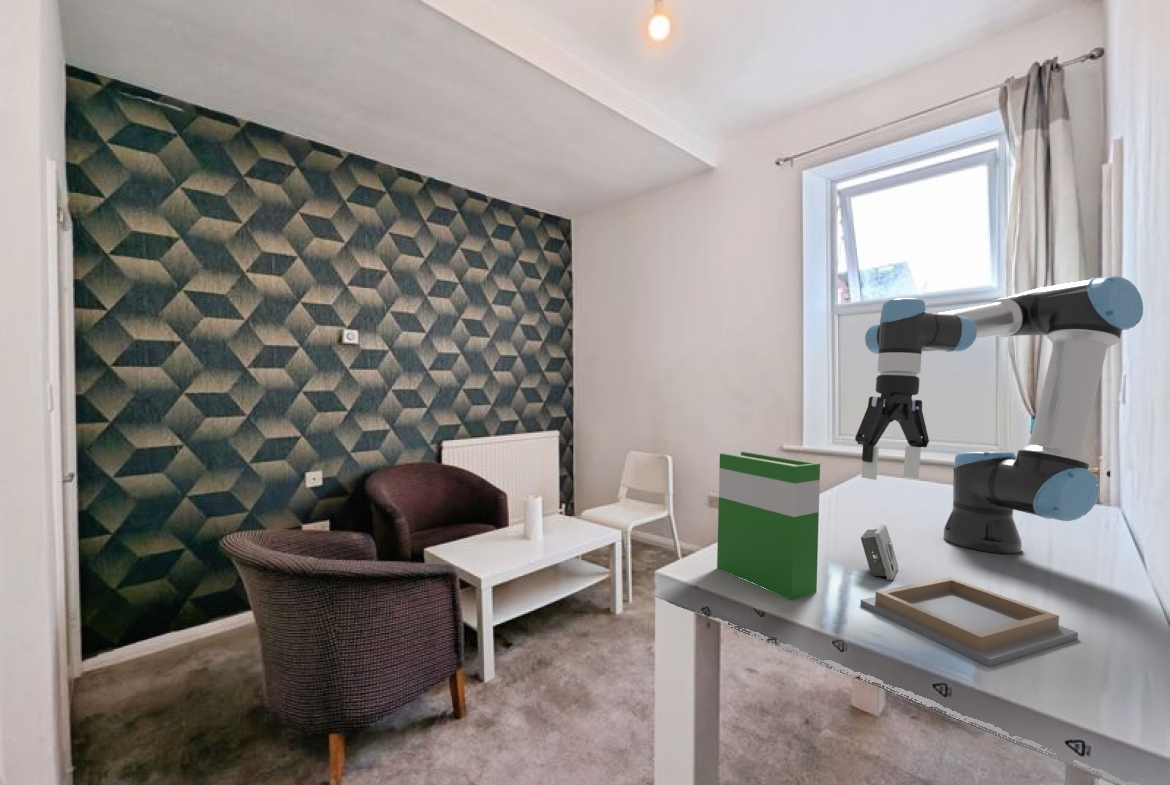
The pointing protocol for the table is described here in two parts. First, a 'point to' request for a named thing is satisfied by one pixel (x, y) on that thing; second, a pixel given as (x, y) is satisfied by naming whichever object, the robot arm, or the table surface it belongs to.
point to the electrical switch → (880, 552)
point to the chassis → (971, 619)
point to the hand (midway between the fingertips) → (890, 477)
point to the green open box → (769, 522)
